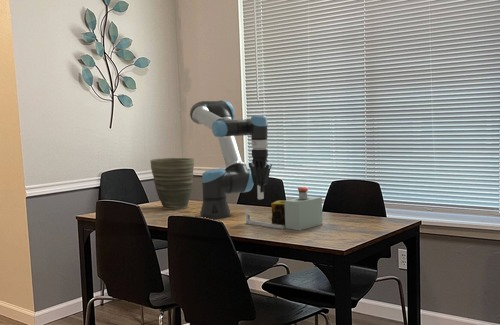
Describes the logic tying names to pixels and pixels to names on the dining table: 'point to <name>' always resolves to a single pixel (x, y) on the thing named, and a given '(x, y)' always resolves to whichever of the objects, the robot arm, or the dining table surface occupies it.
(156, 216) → the dining table surface
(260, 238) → the dining table surface
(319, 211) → the gauge cabinet
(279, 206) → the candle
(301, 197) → the plunger
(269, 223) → the rail track
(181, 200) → the vase
